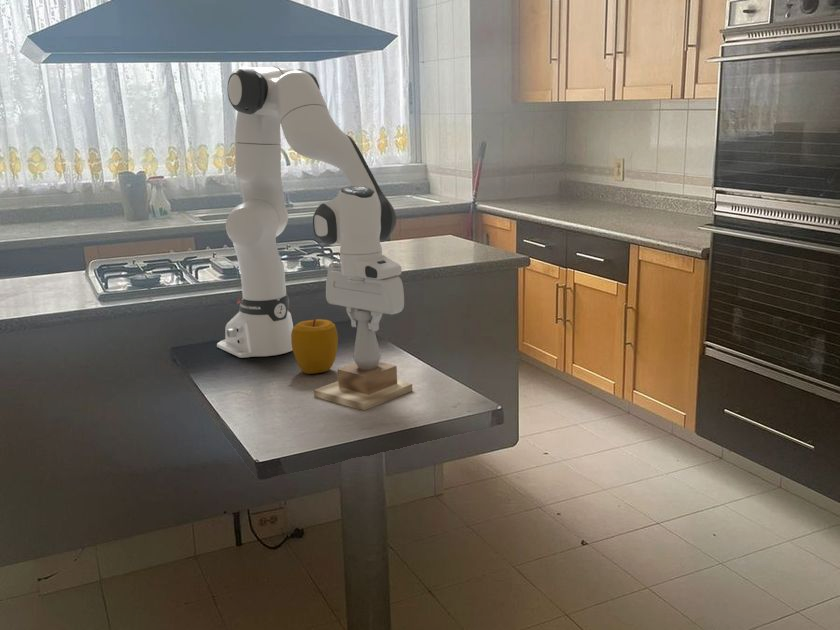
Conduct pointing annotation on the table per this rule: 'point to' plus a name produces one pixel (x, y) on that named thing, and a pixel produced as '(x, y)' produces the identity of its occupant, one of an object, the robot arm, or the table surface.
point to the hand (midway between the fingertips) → (365, 328)
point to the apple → (314, 345)
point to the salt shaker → (365, 342)
